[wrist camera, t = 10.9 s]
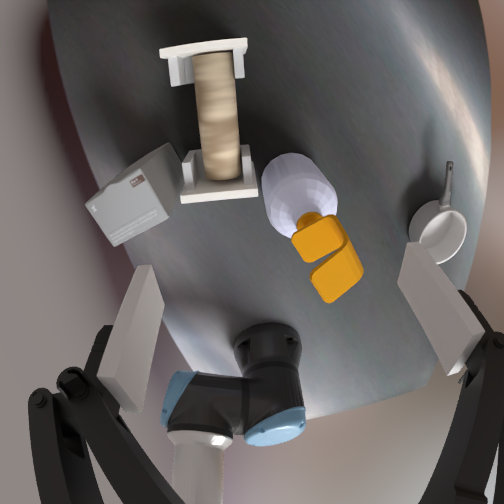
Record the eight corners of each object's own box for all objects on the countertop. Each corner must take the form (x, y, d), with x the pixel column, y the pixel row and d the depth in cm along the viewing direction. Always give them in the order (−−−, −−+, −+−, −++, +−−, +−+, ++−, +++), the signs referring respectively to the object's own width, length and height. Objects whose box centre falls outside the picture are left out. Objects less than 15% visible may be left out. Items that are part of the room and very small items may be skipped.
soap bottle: (249, 171, 44) (261, 273, 24) (302, 141, 42) (365, 217, 21) (279, 216, 48) (309, 334, 28) (328, 189, 46) (394, 291, 26)
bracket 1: (178, 55, 34) (159, 49, 24) (244, 47, 34) (246, 37, 24) (182, 84, 36) (163, 88, 27) (246, 77, 36) (249, 77, 27)
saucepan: (456, 150, 42) (475, 160, 37) (447, 242, 53) (461, 257, 48) (405, 155, 43) (423, 166, 38) (402, 253, 54) (415, 270, 49)
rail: (224, 166, 39) (249, 172, 37) (197, 176, 37) (221, 183, 34) (215, 56, 31) (241, 52, 28) (184, 58, 28) (209, 53, 26)
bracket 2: (253, 167, 44) (258, 196, 35) (193, 173, 44) (181, 203, 35) (251, 138, 41) (255, 159, 32) (189, 145, 41) (175, 167, 32)
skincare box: (147, 199, 46) (114, 255, 32) (124, 162, 42) (79, 206, 29) (193, 175, 44) (173, 225, 31) (170, 135, 40) (136, 168, 27)
